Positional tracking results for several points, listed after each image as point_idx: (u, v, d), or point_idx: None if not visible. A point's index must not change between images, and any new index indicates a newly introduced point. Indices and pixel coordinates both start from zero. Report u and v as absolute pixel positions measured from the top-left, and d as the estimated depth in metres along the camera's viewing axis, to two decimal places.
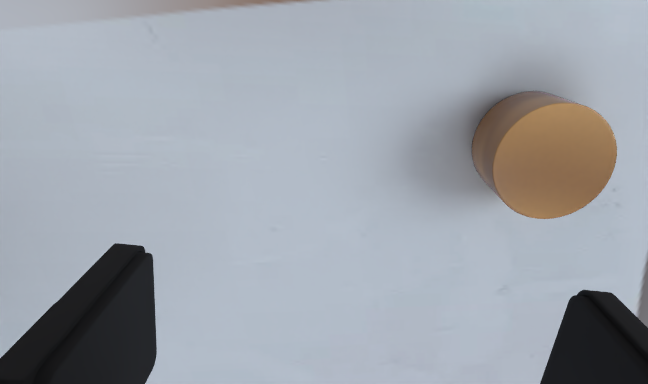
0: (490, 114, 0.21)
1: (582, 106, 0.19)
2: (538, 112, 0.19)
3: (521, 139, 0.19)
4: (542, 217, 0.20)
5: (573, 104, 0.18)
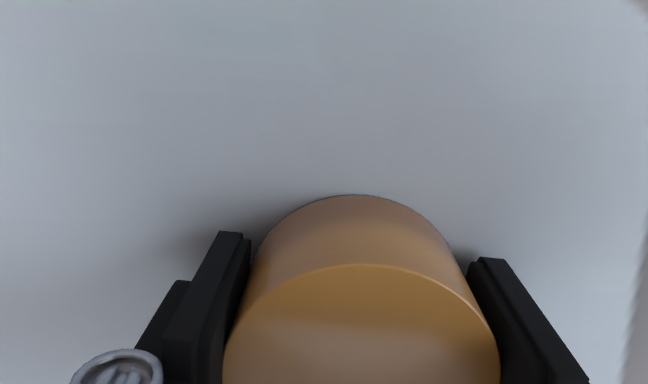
0: (265, 243, 0.10)
1: (406, 272, 0.08)
2: (302, 285, 0.08)
3: (274, 339, 0.08)
4: None
5: (383, 267, 0.08)
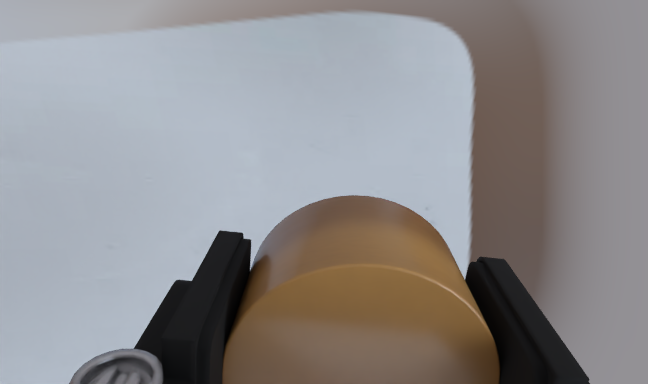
0: (265, 243, 0.10)
1: (405, 272, 0.08)
2: (303, 285, 0.08)
3: (274, 339, 0.08)
4: None
5: (383, 268, 0.08)
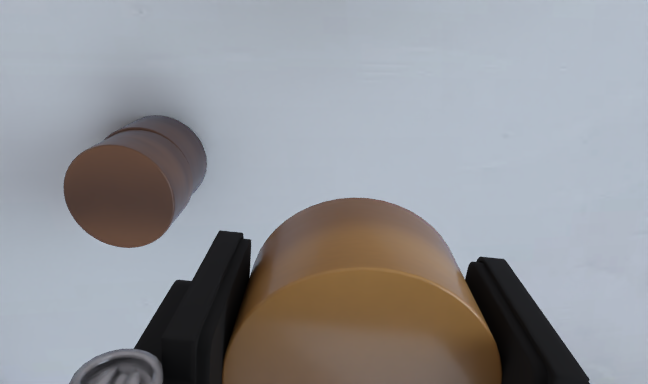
0: (266, 246, 0.10)
1: (407, 276, 0.08)
2: (304, 289, 0.08)
3: (275, 342, 0.08)
4: None
5: (385, 271, 0.08)
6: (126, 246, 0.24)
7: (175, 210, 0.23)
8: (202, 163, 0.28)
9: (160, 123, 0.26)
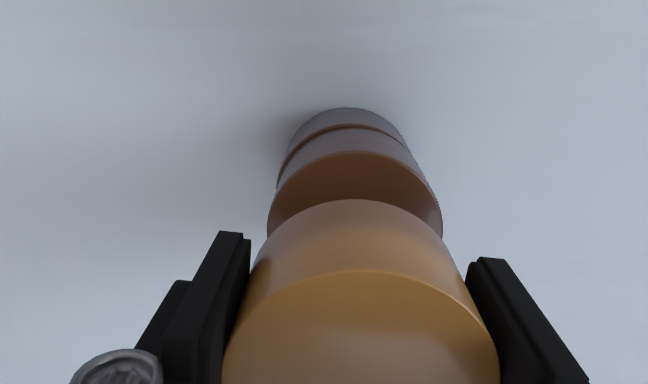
0: (264, 247, 0.10)
1: (405, 278, 0.08)
2: (302, 291, 0.08)
3: (273, 344, 0.08)
4: None
5: (383, 273, 0.07)
6: None
7: None
8: None
9: (369, 118, 0.18)
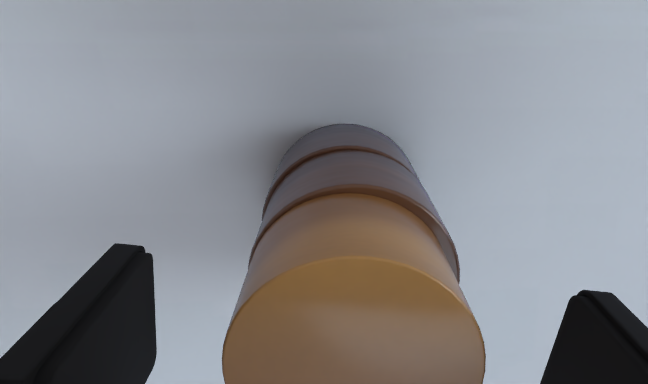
0: (264, 239, 0.11)
1: (395, 264, 0.08)
2: (299, 276, 0.08)
3: (272, 327, 0.09)
4: None
5: (374, 260, 0.08)
6: None
7: None
8: None
9: (370, 137, 0.15)
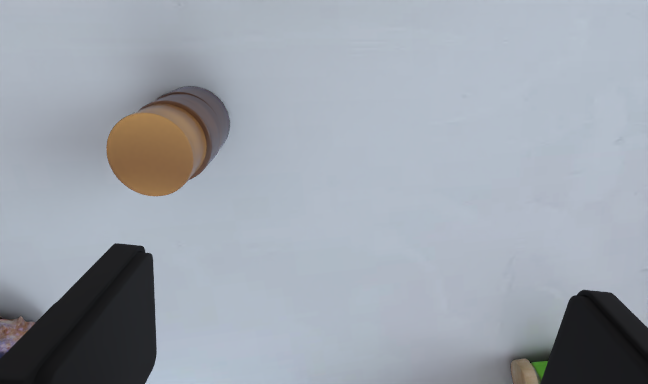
0: None
1: (156, 115, 0.26)
2: (127, 119, 0.26)
3: (121, 138, 0.27)
4: (154, 195, 0.28)
5: (149, 113, 0.26)
6: None
7: (212, 151, 0.31)
8: (227, 122, 0.35)
9: (195, 90, 0.34)
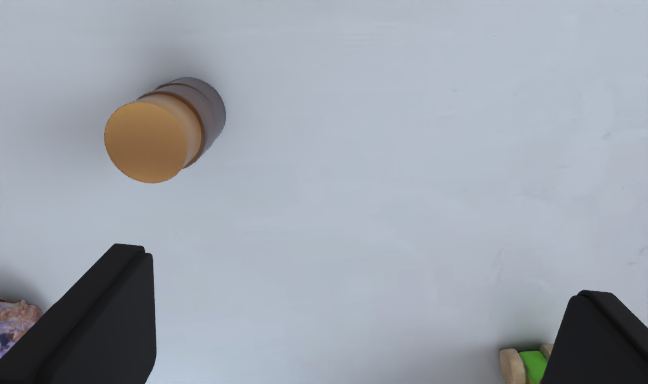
0: None
1: (151, 104, 0.27)
2: (124, 109, 0.27)
3: (118, 127, 0.28)
4: (150, 182, 0.29)
5: (145, 103, 0.27)
6: None
7: (206, 141, 0.32)
8: (223, 113, 0.36)
9: (192, 81, 0.35)
